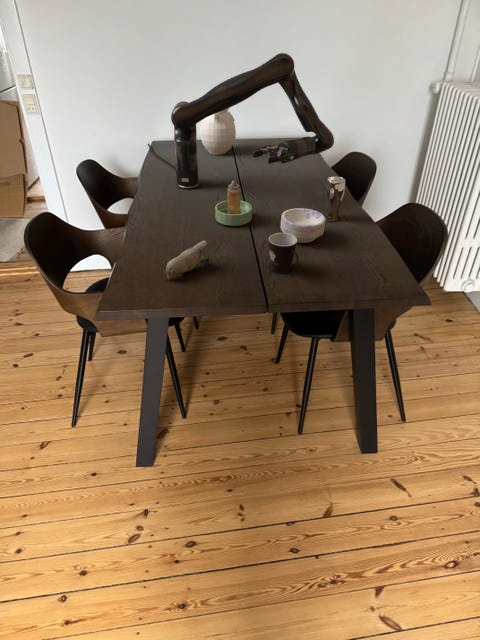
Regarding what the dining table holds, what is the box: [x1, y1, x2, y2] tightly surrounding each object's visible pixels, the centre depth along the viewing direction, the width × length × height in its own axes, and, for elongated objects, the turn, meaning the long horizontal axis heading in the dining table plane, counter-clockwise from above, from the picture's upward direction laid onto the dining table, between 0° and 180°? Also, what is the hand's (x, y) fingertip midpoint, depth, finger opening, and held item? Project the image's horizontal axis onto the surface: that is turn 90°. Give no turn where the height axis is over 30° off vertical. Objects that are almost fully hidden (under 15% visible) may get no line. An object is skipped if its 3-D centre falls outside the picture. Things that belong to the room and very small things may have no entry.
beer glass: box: [322, 175, 346, 223], centre depth 160 cm, size 7×7×15 cm
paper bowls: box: [280, 207, 327, 244], centre depth 149 cm, size 15×15×8 cm
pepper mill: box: [226, 180, 242, 214], centre depth 158 cm, size 5×5×14 cm
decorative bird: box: [165, 240, 210, 281], centre depth 131 cm, size 5×16×8 cm, turn 137°
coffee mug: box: [268, 232, 299, 274], centre depth 131 cm, size 12×9×10 cm
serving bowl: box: [214, 199, 253, 227], centre depth 161 cm, size 14×14×5 cm
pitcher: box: [199, 108, 237, 156], centre depth 220 cm, size 19×18×25 cm
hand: (260, 157), depth 158 cm, fingers open, 8 cm apart
